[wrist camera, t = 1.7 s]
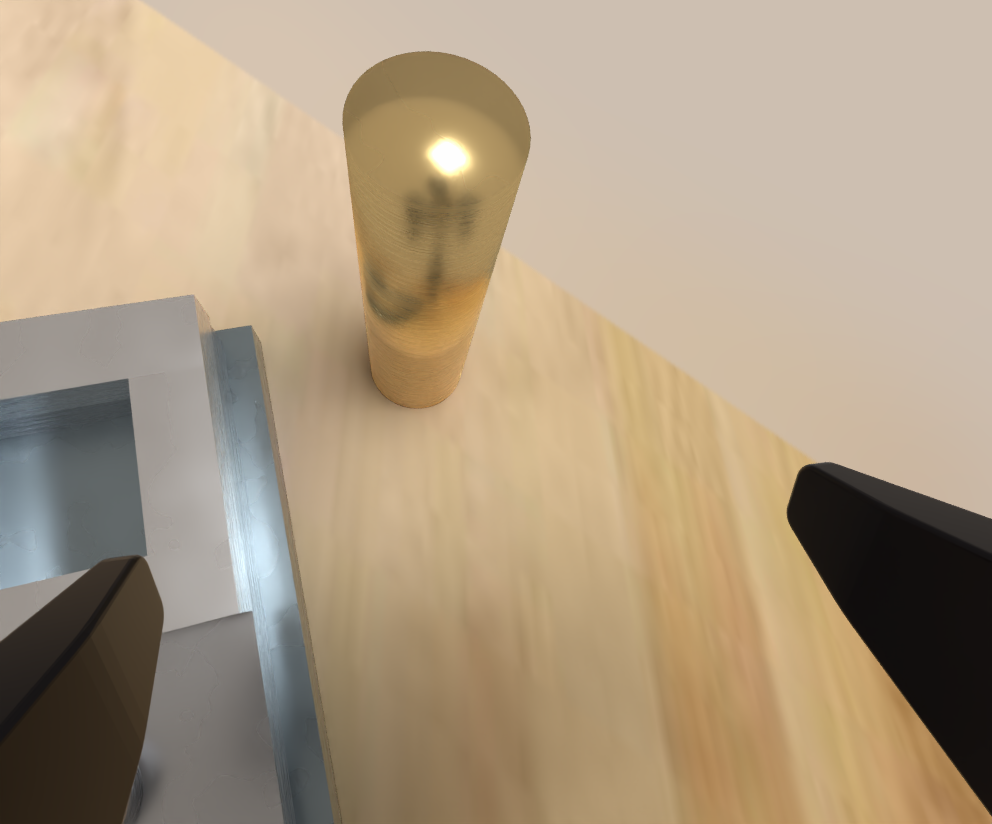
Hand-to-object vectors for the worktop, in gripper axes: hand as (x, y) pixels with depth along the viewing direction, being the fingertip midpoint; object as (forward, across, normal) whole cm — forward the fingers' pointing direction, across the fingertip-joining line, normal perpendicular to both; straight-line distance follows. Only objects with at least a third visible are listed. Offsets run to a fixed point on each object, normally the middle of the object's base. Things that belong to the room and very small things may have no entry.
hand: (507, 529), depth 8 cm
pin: (+15, 0, +4) cm, 15 cm away
